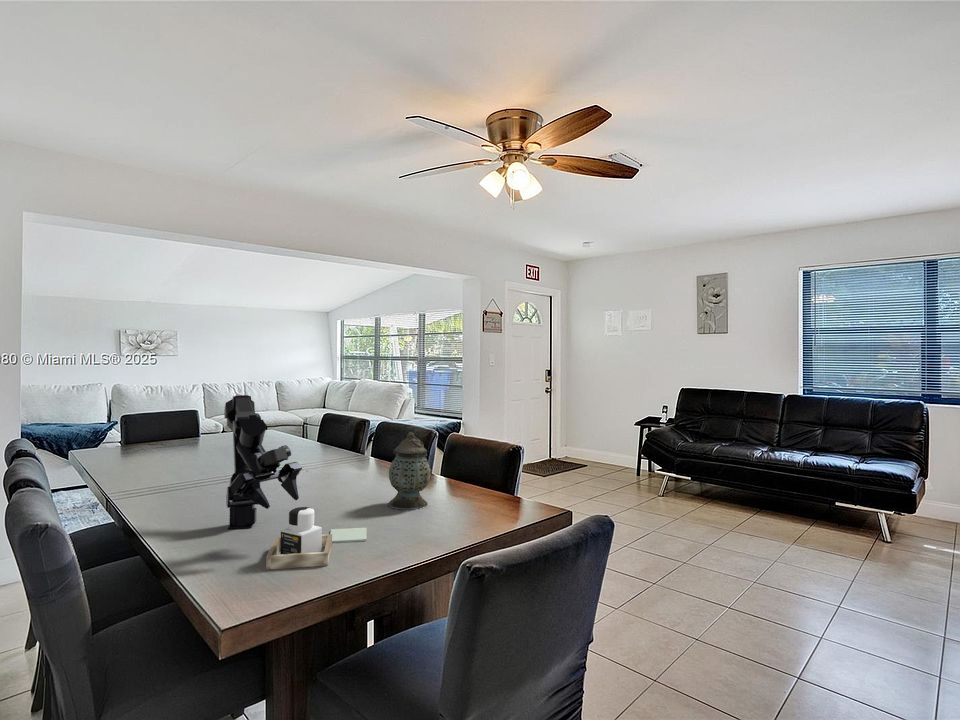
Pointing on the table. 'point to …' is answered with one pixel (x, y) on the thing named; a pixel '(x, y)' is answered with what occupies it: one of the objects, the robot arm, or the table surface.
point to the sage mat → (349, 535)
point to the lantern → (409, 474)
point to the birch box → (298, 556)
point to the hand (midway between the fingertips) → (283, 503)
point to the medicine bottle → (301, 533)
